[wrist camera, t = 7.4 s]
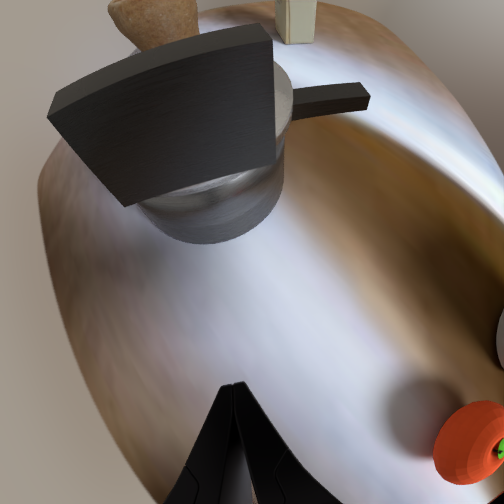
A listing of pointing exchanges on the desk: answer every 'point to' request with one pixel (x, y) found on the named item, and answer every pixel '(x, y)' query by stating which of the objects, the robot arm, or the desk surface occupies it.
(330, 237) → the desk surface
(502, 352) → the can
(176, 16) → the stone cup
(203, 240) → the pot
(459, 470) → the clementine
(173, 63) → the lid
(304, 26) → the skincare box
